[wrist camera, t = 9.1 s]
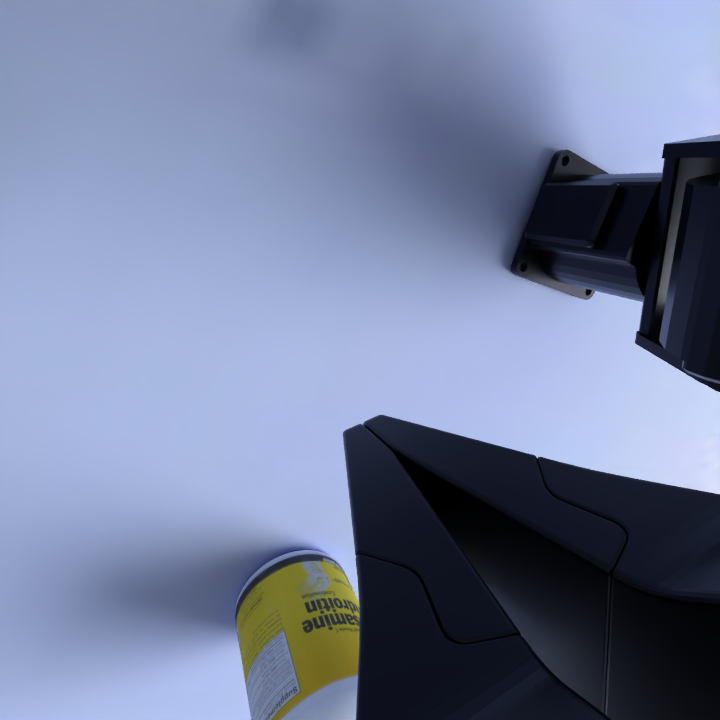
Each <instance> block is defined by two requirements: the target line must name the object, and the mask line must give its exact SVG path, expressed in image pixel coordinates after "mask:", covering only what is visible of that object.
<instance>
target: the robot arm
mask: <svg viewBox="0 0 720 720" xmlns="http://www.w3.org/2000/svg"><path fill="white" fill-rule="evenodd" d="M562 158H563V163H562ZM662 158H665V159H664V166H663V173H635V174H608V173H607V172H605V171H603V170H601V169H600V168H598V167H596V166H595V165H593V164H591V163H590V162H588V161H586V160H585V159H583V158H581V157H580V156H578V155H576V154H574V153H573V152H571V151H569V150H560V151H557V152H556V153H555V154H554V156H553V158H552V161H551V163H550V166H549V169H548V171H547V174H546V176H545V179H544V182H543V184H542V187H541V189H540V192H539V195H538V197H537V200H536V203H535V205H534V208H533V210H532V213H531V216H530V218H529V221H528V223H527V226H526V229H525V231H524V234H523V236H522V239H521V242H520V244H519V247H518V249H517V252H516V255H515V257H514V260H513V262H512V266H511V271H512V273H513V274H514V275H516V276H519V277H522V278H525V279H528V280H530V281H533V282H536V283H539V284H542V285H544V286H547V287H550V288H553V289H556V290H558V291H561V292H564V293H567V294H570V295H572V296H575V297H578V298H581V299H585V300H588V299H590V298H591V297H592V296H593V294H594V292H595V291H599V292H603V293H607V294H611V295H616V296H620V297H624V298H628V299H633V300H637V301H641V302H643V307H642V314H641V321H640V327H639V331H637V333H636V340H635V343H636V344H637V345H639V346H641V347H642V348H644V349H646V350H647V351H649V352H651V353H652V354H654V355H656V356H657V357H659V358H661V359H662V360H664V361H666V362H667V363H669V364H671V365H672V366H674V367H676V368H677V369H679V370H681V371H682V372H684V373H686V374H687V375H689V376H690V377H692V378H694V379H695V380H697V381H699V382H701V383H703V384H705V385H707V386H709V387H710V388H712V389H714V390H716V391H718V392H720V135H714V136H708V137H702V138H696V139H690V140H684V141H678V142H672V143H666V144H664V149H663V156H662ZM521 264H522V268H521V270H520V266H521ZM343 440H344V450H345V459H346V469H347V478H348V488H349V497H350V507H351V516H352V526H353V535H354V545H355V554H356V567H357V576H358V590H359V606H360V611H359V660H358V682H357V704H356V720H720V494H714V493H709V492H704V491H698V490H693V489H688V488H682V487H677V486H671V485H666V484H661V483H655V482H650V481H645V480H639V479H634V478H629V477H624V476H619V475H614V474H609V473H605V472H600V471H595V470H590V469H586V468H582V467H578V466H574V465H570V464H566V463H562V462H558V461H554V460H550V459H547V458H543V457H538V458H536V456H535V455H531V454H527V453H524V452H520V451H516V450H512V449H509V448H505V447H501V446H497V445H494V444H490V443H486V442H482V441H479V440H475V439H471V438H467V437H464V436H460V435H456V434H452V433H449V432H445V431H441V430H437V429H434V428H430V427H426V426H422V425H419V424H415V423H411V422H407V421H404V420H400V419H396V418H392V417H389V416H385V415H378V416H376V417H374V418H372V419H369V420H367V421H365V422H364V423H363V425H362V424H358V425H356V426H354V427H352V428H349V429H347V430H345V431H344V432H343Z"/></svg>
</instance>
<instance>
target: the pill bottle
mask: <svg viewBox="0 0 720 720" xmlns="http://www.w3.org/2000/svg"><path fill="white" fill-rule="evenodd" d="M359 611H360V606H359V602H358V600H357V598H356V596H355V593H354V591H353V589H352V587H351V585H350V583H349V581H348V579H347V577H346V574H345V572H344V571H343V569H342V567H341V566H340V564H339V563H338V562H337V561H336V560H335V559H334V558H332V557H331V556H329V555H327V554H325V553H323V552H319V551H314V550H300V551H294V552H290V553H286V554H284V555H281V556H279V557H276V558H275V559H273V560H271V561H269V562H268V563H266V564H265V565H263V566H262V567H261V568H259V569H258V570H257V571H256V572H255V573H254V574H253V575H252V576H251V577H250V578H249V580H248V581H247V582H246V584H245V585H244V587H243V588H242V590H241V592H240V594H239V597H238V600H237V603H236V608H235V620H236V629H237V635H238V641H239V646H240V652H241V658H242V664H243V671H244V677H245V683H246V689H247V695H248V702H249V708H250V714H251V720H356V704H357V682H358V660H359Z"/></svg>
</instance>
